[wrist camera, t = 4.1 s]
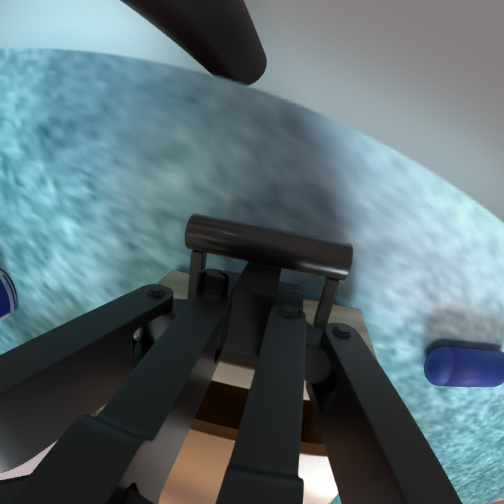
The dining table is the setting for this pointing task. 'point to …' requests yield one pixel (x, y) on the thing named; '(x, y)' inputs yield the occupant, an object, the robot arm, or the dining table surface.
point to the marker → (464, 367)
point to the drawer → (277, 255)
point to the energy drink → (6, 297)
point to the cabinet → (217, 458)
